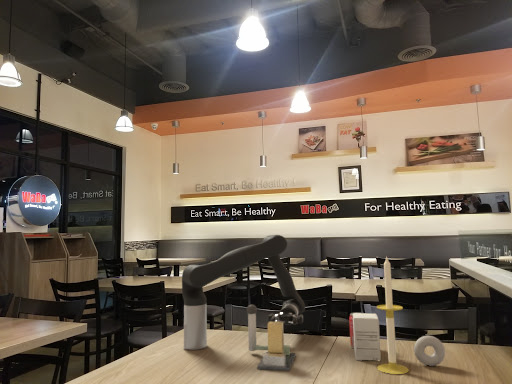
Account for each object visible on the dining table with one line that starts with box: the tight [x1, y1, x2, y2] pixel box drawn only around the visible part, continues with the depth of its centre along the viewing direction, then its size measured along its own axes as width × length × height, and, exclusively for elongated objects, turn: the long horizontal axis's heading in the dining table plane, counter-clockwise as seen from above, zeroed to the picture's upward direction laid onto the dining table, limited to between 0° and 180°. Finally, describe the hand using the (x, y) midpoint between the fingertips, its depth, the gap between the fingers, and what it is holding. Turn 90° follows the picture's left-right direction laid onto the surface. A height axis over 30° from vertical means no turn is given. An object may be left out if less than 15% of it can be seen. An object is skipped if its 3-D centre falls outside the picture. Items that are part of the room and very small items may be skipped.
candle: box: [375, 255, 410, 375], centre depth 133 cm, size 10×10×38 cm
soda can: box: [348, 312, 354, 349], centre depth 157 cm, size 7×7×13 cm
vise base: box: [256, 351, 296, 372], centre depth 141 cm, size 16×11×4 cm, turn 167°
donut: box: [413, 335, 446, 367], centre depth 134 cm, size 10×4×10 cm, turn 80°
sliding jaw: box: [246, 304, 291, 355], centre depth 150 cm, size 6×17×17 cm, turn 77°
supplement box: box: [352, 312, 382, 362], centre depth 145 cm, size 9×9×15 cm
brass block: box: [267, 322, 285, 354], centre depth 140 cm, size 4×5×13 cm
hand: (283, 322), depth 156 cm, fingers open, 8 cm apart
